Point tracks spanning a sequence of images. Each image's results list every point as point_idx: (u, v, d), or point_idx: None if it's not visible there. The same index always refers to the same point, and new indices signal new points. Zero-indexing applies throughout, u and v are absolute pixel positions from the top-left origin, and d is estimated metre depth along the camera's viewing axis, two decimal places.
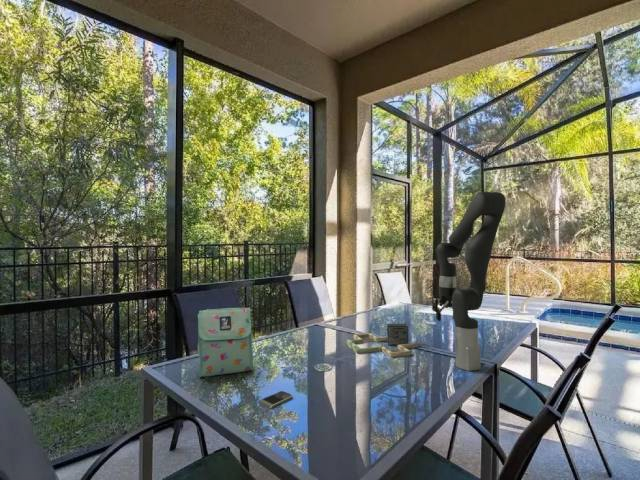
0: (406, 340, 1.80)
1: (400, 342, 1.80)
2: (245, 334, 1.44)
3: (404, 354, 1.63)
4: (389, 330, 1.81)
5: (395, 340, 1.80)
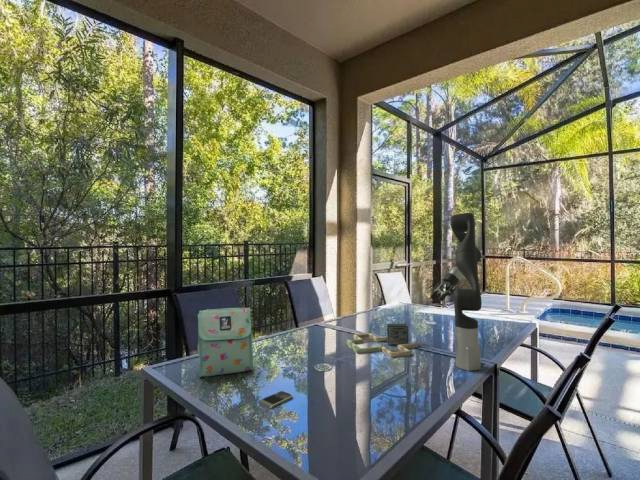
0: (406, 341, 1.80)
1: (400, 342, 1.80)
2: (245, 334, 1.44)
3: (404, 354, 1.63)
4: (389, 330, 1.81)
5: (395, 340, 1.80)
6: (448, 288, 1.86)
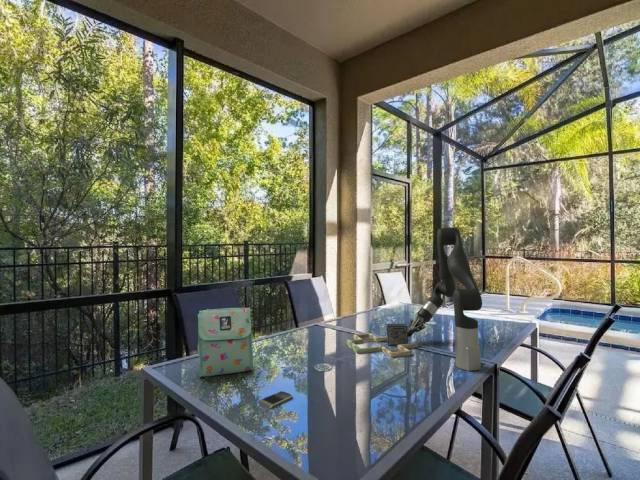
0: (406, 340, 1.80)
1: (400, 342, 1.80)
2: (245, 334, 1.44)
3: (404, 354, 1.63)
4: (389, 330, 1.81)
5: (395, 340, 1.80)
6: None
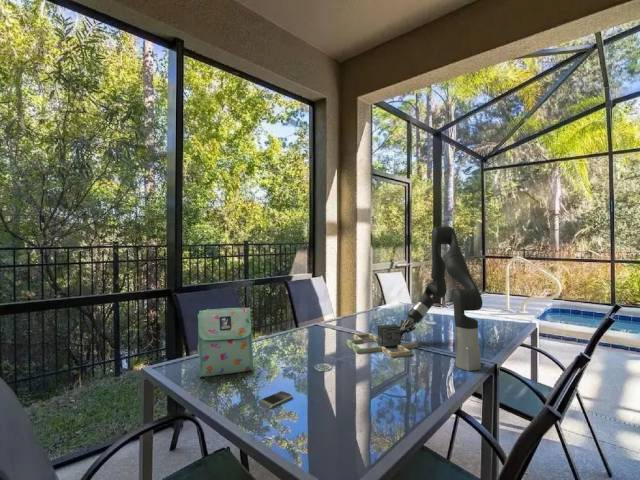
0: (399, 341, 1.79)
1: (393, 343, 1.78)
2: (245, 334, 1.44)
3: (404, 354, 1.63)
4: (383, 332, 1.77)
5: (389, 342, 1.77)
6: None
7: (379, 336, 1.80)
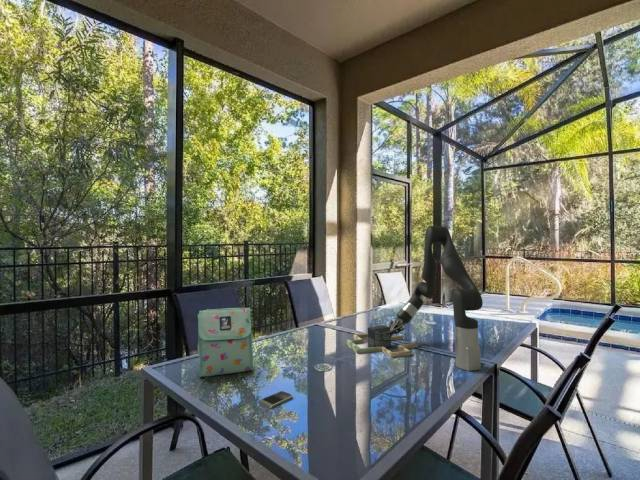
0: (389, 342, 1.77)
1: (384, 344, 1.76)
2: (245, 334, 1.44)
3: (404, 354, 1.63)
4: (375, 334, 1.73)
5: (381, 343, 1.75)
6: (398, 326, 1.81)
7: (370, 338, 1.76)
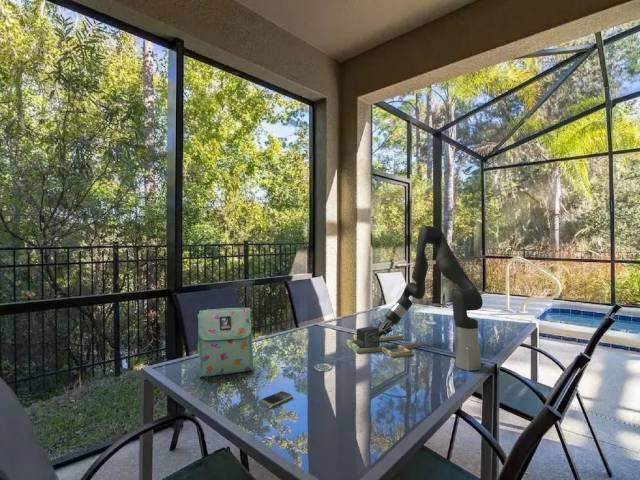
0: (378, 343, 1.76)
1: (373, 346, 1.74)
2: (245, 334, 1.44)
3: (404, 354, 1.63)
4: (365, 335, 1.71)
5: (370, 345, 1.73)
6: (387, 327, 1.80)
7: (359, 340, 1.73)
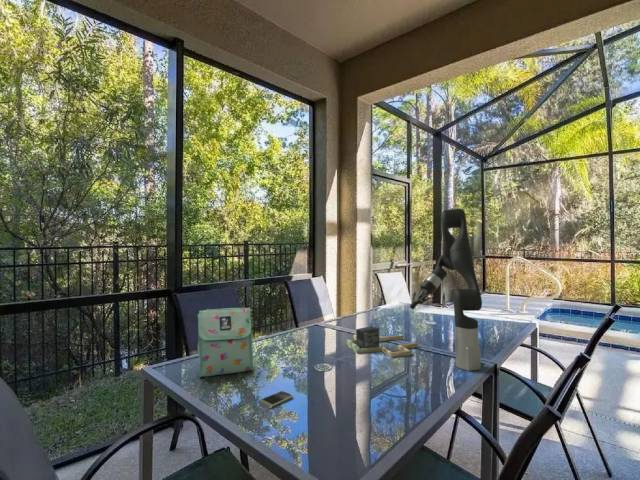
0: (378, 343, 1.76)
1: (373, 346, 1.74)
2: (245, 334, 1.44)
3: (404, 354, 1.63)
4: (364, 335, 1.71)
5: (370, 345, 1.73)
6: None
7: (359, 340, 1.73)
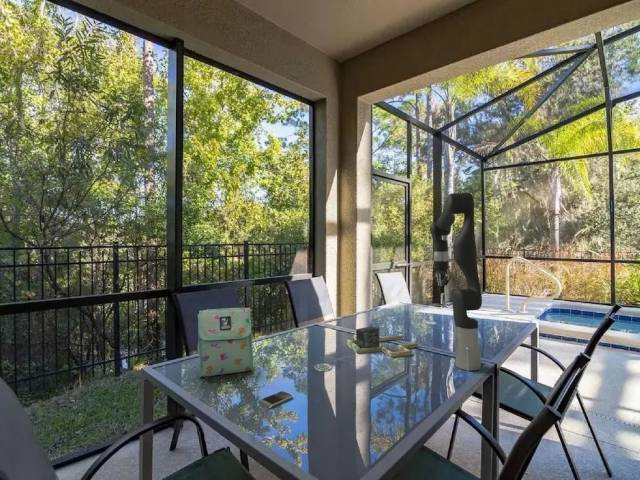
0: (378, 343, 1.76)
1: (373, 346, 1.74)
2: (245, 334, 1.44)
3: (404, 354, 1.63)
4: (364, 335, 1.71)
5: (370, 345, 1.73)
6: None
7: (359, 340, 1.73)
